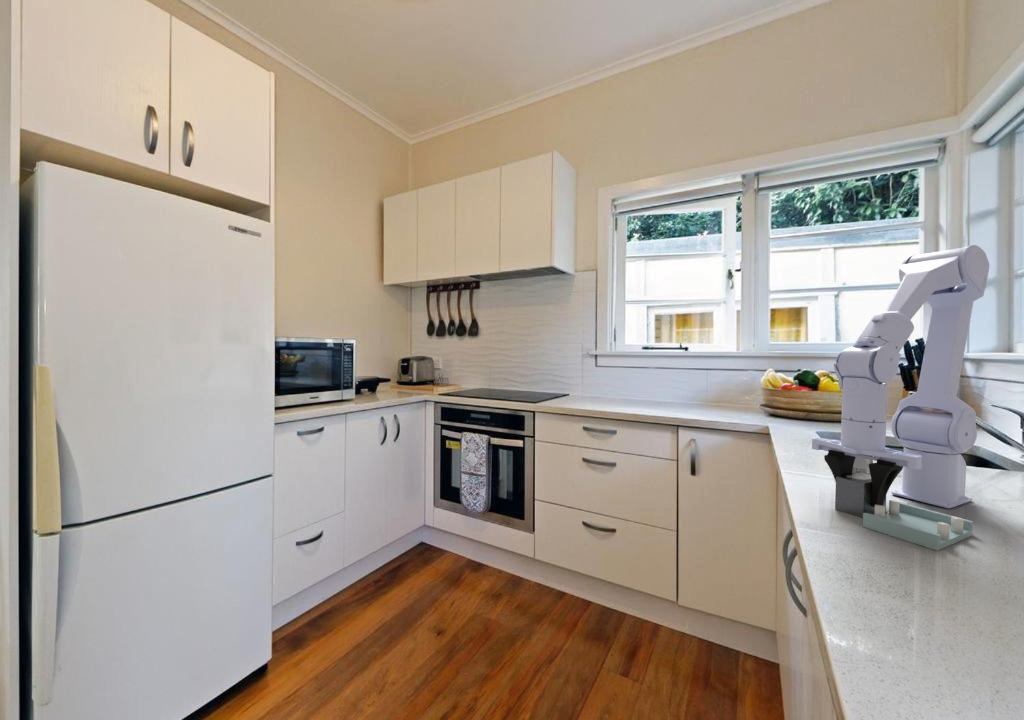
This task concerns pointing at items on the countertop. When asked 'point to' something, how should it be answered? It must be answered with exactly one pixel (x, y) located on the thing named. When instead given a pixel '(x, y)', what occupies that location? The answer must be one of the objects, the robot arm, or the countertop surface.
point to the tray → (918, 525)
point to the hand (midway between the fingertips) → (860, 501)
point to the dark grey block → (854, 494)
